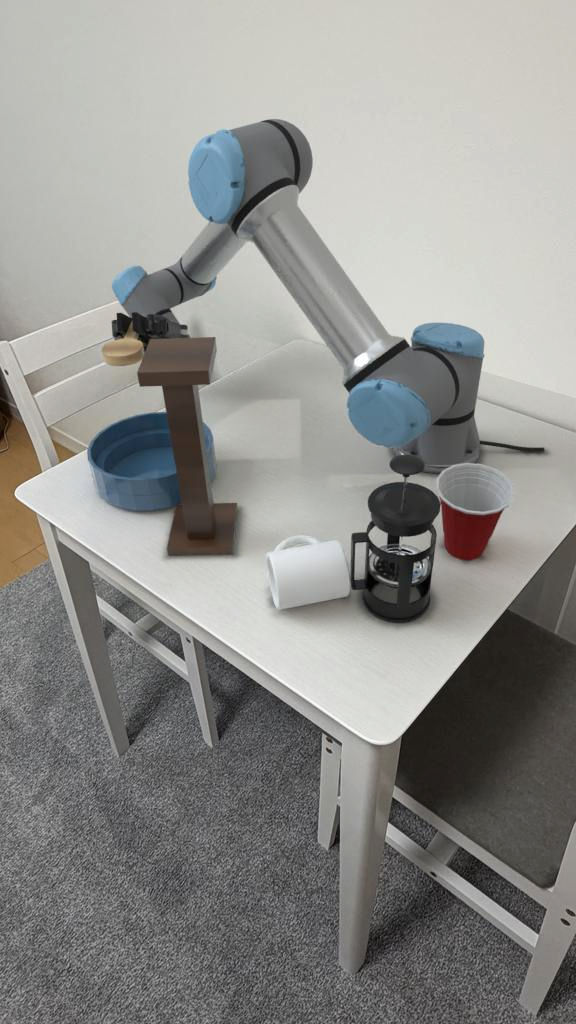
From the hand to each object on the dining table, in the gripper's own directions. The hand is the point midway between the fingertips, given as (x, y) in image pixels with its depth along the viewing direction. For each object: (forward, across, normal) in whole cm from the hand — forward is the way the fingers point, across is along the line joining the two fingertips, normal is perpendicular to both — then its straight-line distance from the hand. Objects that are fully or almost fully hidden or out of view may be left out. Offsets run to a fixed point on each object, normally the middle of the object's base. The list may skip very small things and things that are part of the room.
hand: (127, 321), depth 103 cm
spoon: (-2, 0, -3) cm, 3 cm away
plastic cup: (+4, -50, -35) cm, 61 cm away
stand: (-1, -10, -33) cm, 34 cm away
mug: (+10, -26, -39) cm, 48 cm away
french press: (+12, -38, -40) cm, 57 cm away
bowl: (-14, 0, -25) cm, 29 cm away
